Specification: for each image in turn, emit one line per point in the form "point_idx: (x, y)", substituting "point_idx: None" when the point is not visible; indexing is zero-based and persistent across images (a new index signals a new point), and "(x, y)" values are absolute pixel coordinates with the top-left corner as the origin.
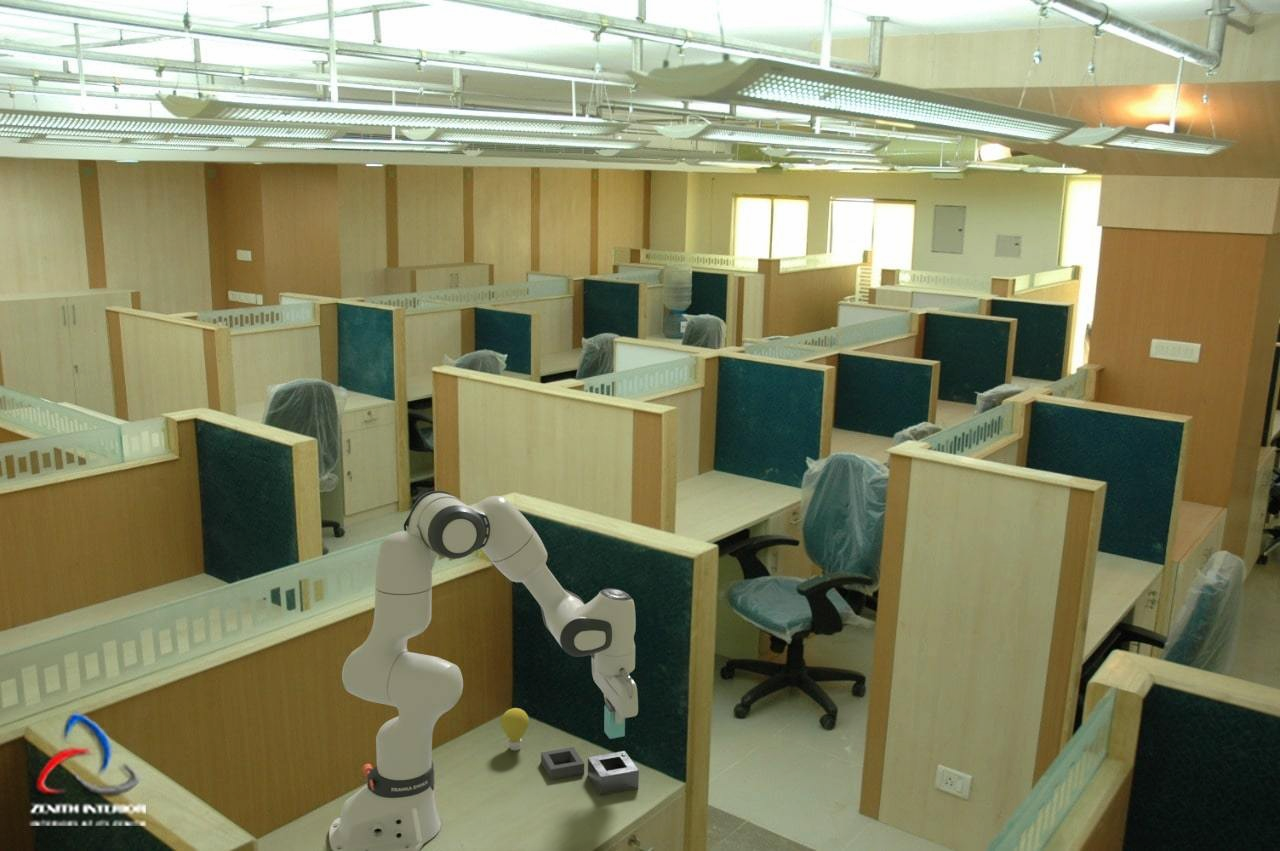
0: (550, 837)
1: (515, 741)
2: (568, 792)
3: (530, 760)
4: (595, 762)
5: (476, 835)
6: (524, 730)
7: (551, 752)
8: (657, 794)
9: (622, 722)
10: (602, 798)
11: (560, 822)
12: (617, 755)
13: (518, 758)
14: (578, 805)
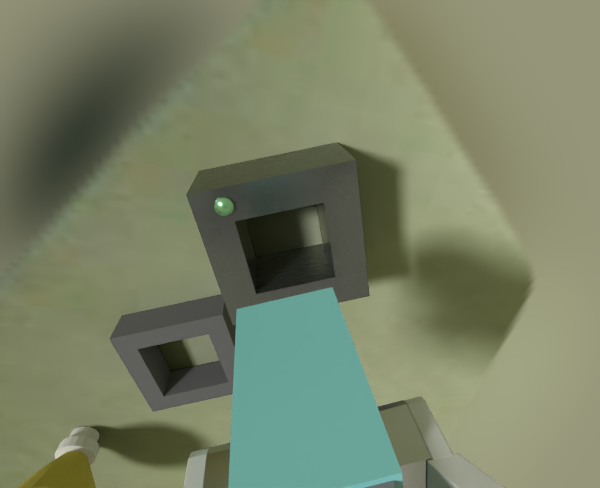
0: (481, 364)
1: (87, 458)
2: None
3: None
4: None
5: None
6: (77, 484)
7: (150, 390)
8: (391, 76)
9: (420, 397)
10: (366, 256)
11: (437, 348)
12: (226, 228)
13: (141, 425)
14: (382, 313)
